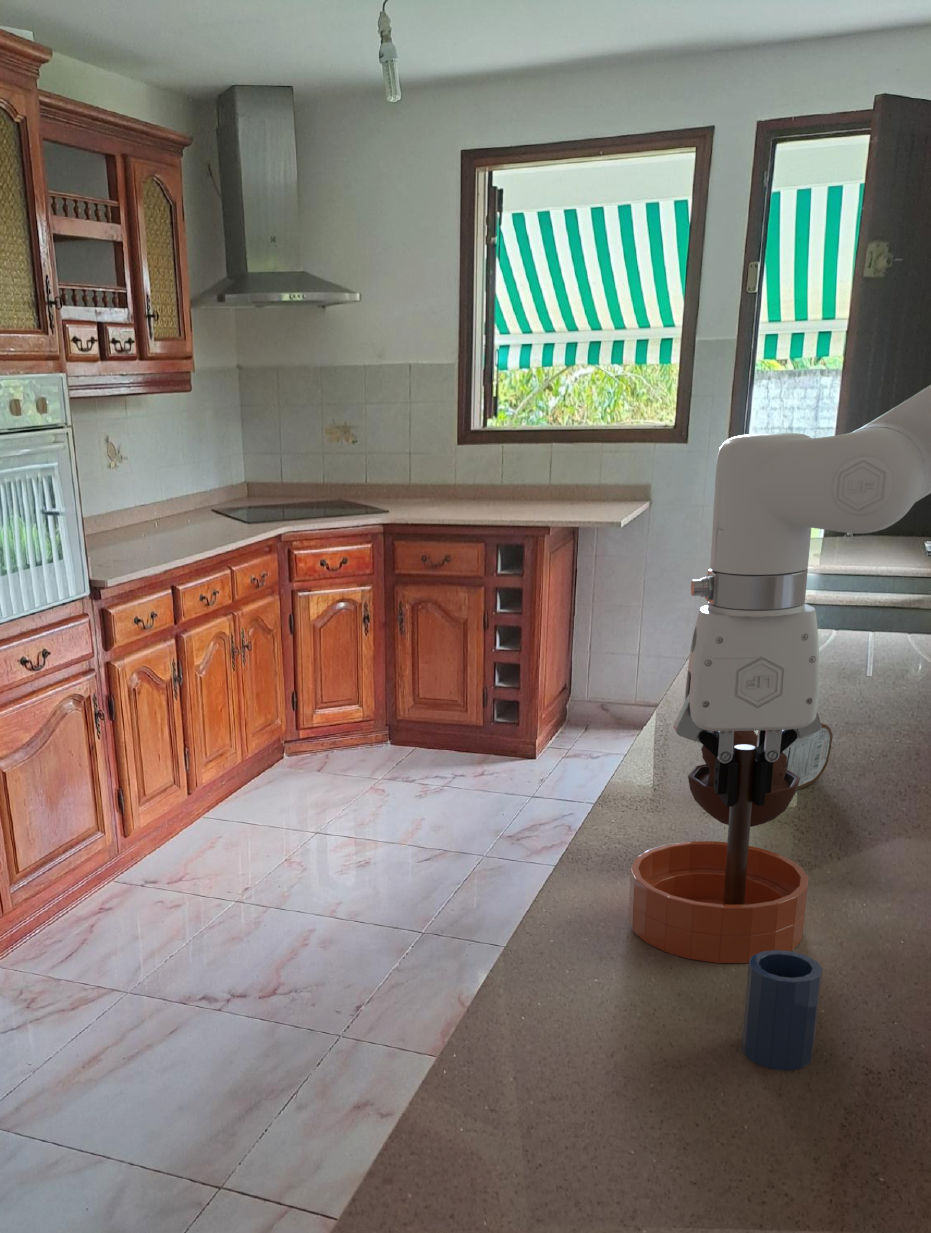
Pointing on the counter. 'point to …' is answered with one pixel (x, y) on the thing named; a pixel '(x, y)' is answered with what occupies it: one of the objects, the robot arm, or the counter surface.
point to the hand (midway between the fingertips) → (741, 799)
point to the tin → (809, 755)
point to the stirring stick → (739, 827)
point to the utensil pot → (781, 1009)
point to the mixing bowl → (715, 902)
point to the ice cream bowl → (773, 806)
